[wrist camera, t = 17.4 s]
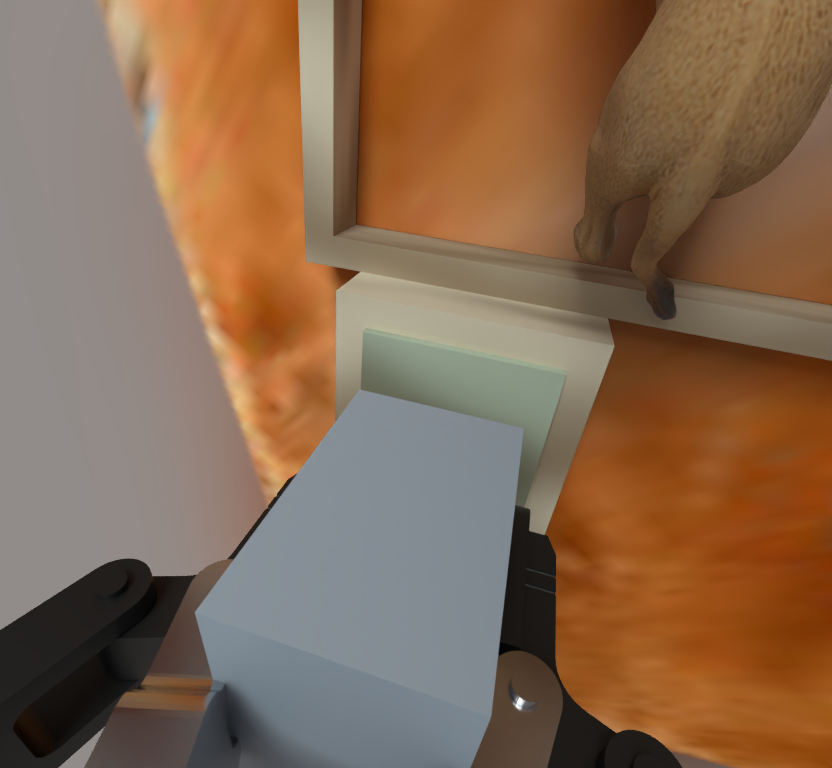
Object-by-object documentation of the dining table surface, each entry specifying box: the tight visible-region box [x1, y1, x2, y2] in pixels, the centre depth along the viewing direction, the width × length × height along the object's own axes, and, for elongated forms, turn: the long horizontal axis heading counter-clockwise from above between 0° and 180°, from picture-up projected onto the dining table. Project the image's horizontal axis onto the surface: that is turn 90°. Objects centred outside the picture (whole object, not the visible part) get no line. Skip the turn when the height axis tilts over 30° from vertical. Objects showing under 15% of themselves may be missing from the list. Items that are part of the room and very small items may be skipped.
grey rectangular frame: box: [298, 0, 832, 535], centre depth 11 cm, size 26×18×4 cm
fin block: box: [195, 389, 524, 768], centre depth 10 cm, size 6×4×6 cm, turn 174°
